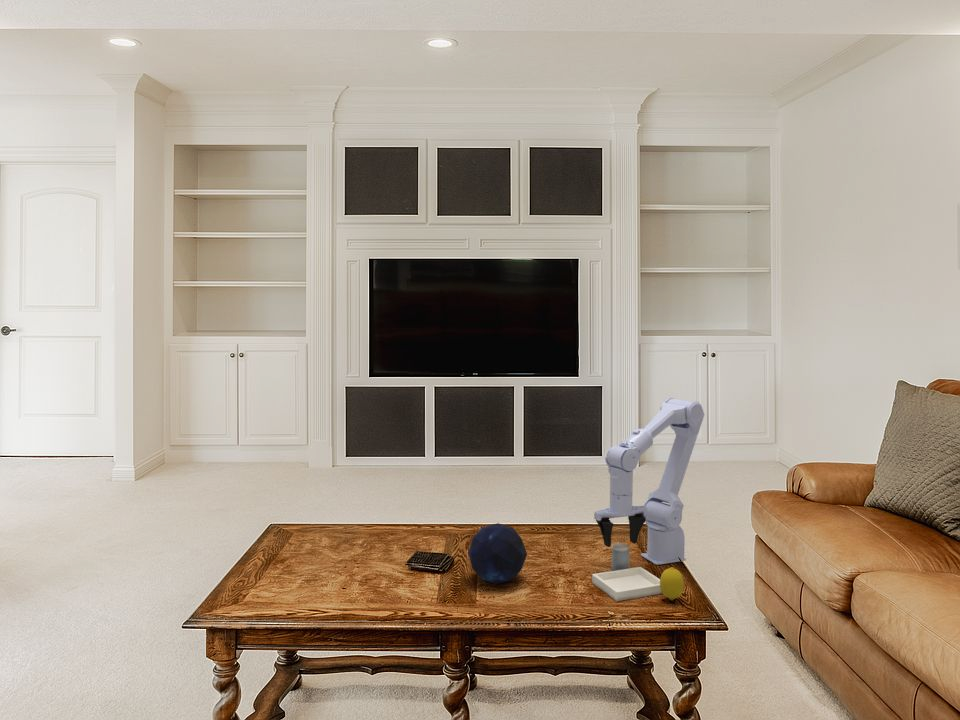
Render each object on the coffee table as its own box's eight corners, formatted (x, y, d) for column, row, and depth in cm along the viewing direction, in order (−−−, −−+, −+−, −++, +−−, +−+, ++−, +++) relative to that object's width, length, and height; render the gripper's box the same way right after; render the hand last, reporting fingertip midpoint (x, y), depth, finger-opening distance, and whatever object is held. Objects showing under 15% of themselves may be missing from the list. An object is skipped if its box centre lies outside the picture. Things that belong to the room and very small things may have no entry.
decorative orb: (473, 576, 177) (507, 522, 180) (448, 556, 190) (480, 506, 193) (515, 603, 183) (547, 550, 185) (488, 581, 196) (519, 532, 199)
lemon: (679, 607, 172) (680, 573, 171) (656, 601, 175) (656, 568, 174) (686, 598, 177) (687, 565, 176) (663, 593, 180) (664, 561, 179)
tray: (640, 575, 191) (640, 566, 191) (667, 592, 180) (667, 583, 180) (591, 582, 187) (591, 574, 186) (616, 601, 175) (616, 592, 175)
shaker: (623, 567, 197) (623, 541, 196) (632, 573, 193) (632, 547, 192) (608, 569, 195) (608, 543, 194) (617, 575, 191) (617, 549, 190)
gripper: (637, 486, 198) (636, 536, 199) (588, 491, 193) (588, 542, 194) (651, 493, 191) (651, 544, 193) (602, 498, 187) (601, 551, 188)
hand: (620, 544), depth 193 cm, fingers open, 7 cm apart
